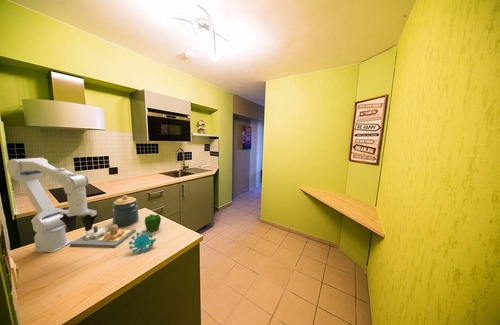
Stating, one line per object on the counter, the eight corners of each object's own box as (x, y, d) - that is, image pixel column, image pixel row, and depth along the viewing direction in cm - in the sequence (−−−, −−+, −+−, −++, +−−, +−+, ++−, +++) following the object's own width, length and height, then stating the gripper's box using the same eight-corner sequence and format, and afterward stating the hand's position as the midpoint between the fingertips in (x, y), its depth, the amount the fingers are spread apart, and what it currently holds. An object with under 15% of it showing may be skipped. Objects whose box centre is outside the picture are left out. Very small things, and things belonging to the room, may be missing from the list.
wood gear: (99, 240, 80) (98, 229, 80) (113, 231, 89) (112, 221, 88) (115, 240, 80) (114, 230, 80) (127, 231, 88) (127, 222, 88)
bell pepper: (154, 224, 100) (154, 209, 99) (163, 227, 97) (163, 211, 96) (141, 230, 92) (140, 214, 91) (150, 234, 89) (150, 217, 88)
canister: (112, 221, 102) (110, 194, 99) (137, 215, 110) (135, 191, 108) (113, 229, 92) (111, 200, 90) (140, 222, 101) (139, 196, 99)
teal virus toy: (125, 254, 71) (131, 231, 77) (127, 256, 75) (132, 234, 81) (154, 251, 76) (157, 229, 82) (154, 253, 80) (157, 233, 86)
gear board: (70, 245, 77) (69, 234, 77) (97, 230, 91) (96, 220, 91) (115, 247, 78) (114, 236, 77) (135, 231, 91) (135, 221, 91)
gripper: (50, 204, 67) (54, 234, 69) (84, 205, 68) (87, 235, 69) (69, 198, 74) (72, 226, 76) (100, 199, 75) (102, 226, 76)
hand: (80, 229), depth 73 cm, fingers open, 7 cm apart
